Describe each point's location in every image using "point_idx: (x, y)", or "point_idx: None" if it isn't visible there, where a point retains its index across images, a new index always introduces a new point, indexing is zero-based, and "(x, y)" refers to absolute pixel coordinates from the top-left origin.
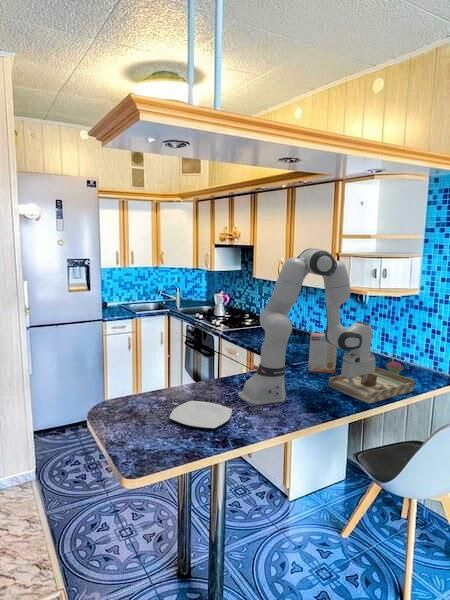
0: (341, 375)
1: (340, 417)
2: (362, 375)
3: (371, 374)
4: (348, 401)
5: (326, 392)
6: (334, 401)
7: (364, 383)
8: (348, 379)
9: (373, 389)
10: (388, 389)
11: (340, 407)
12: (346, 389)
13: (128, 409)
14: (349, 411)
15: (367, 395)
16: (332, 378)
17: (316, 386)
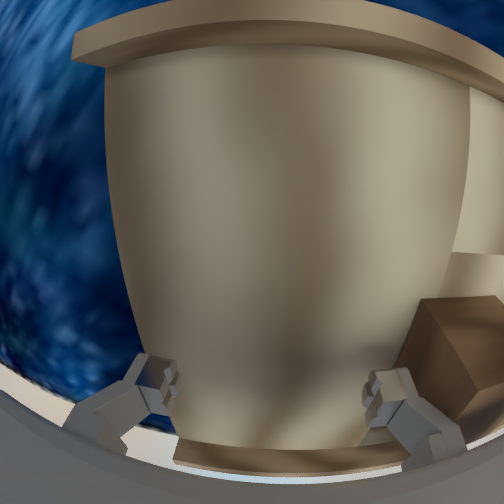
0: (366, 17)
1: (30, 380)
2: (463, 383)
3: (501, 412)
4: (99, 355)
5: (41, 184)
6: (36, 310)
7: (413, 348)
8: (94, 399)
9: (357, 411)
10: (362, 470)
11: (44, 356)
12: (136, 310)
13: None
14: (64, 388)
15: (176, 448)
16: (112, 48)
17: (56, 46)
